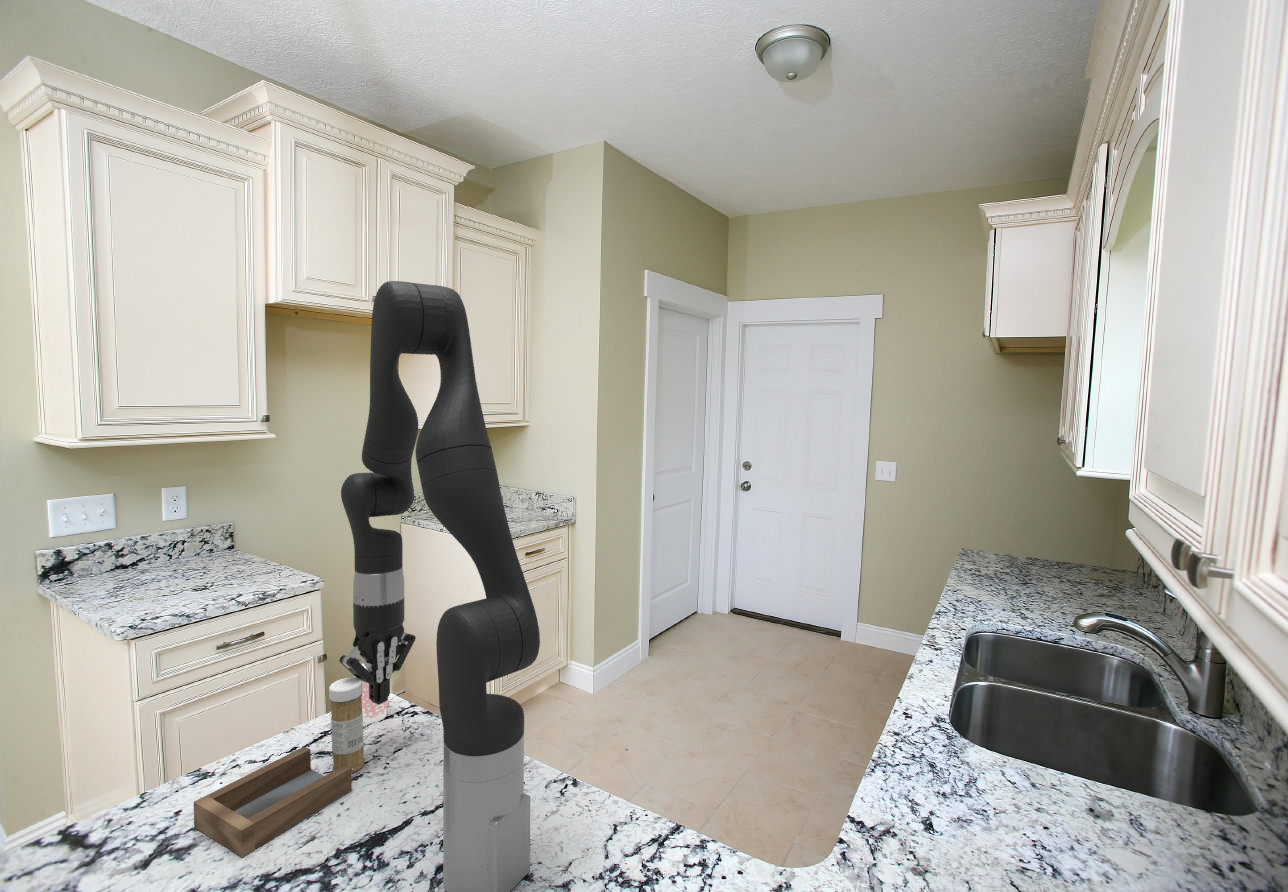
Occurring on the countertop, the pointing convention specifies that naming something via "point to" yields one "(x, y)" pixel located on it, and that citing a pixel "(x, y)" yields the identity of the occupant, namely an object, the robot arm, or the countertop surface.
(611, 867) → the countertop surface
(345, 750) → the sprinkles bottle
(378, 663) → the robot arm
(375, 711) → the beverage cup
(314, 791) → the u rest
